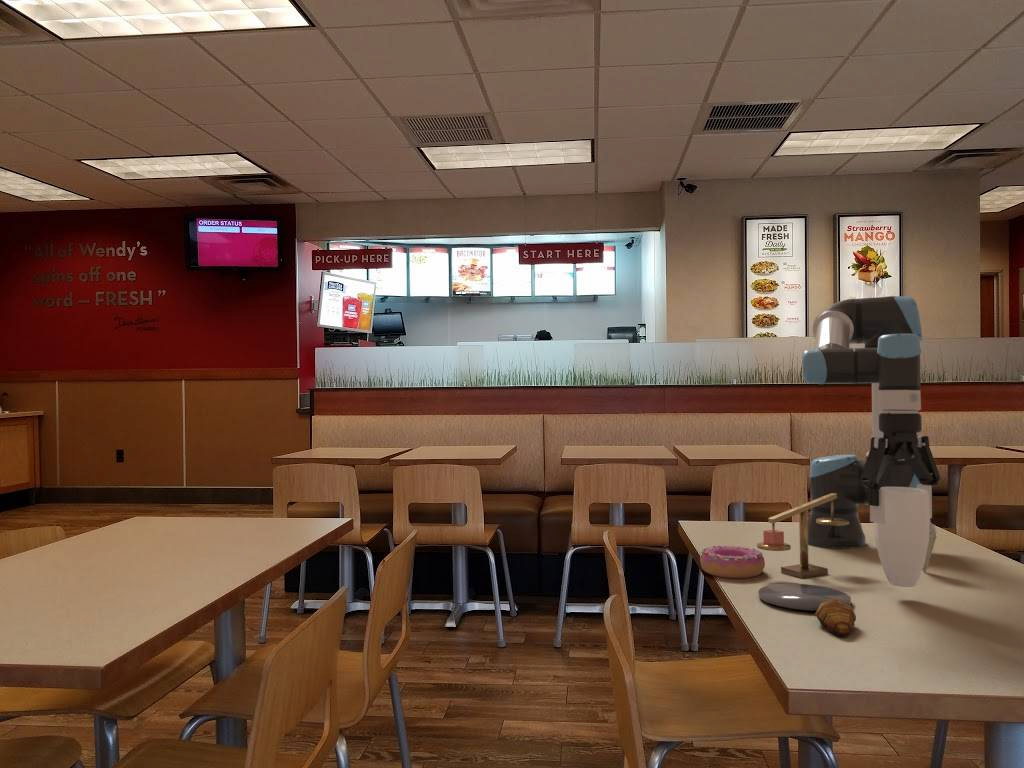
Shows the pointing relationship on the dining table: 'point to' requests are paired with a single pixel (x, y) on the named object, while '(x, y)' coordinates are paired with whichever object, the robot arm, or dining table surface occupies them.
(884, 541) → the cup
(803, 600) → the grey flat disc
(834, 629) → the croissant
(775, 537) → the balance
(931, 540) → the ice cream cone
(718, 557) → the donut
